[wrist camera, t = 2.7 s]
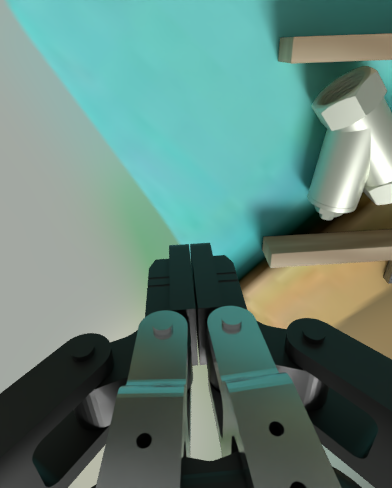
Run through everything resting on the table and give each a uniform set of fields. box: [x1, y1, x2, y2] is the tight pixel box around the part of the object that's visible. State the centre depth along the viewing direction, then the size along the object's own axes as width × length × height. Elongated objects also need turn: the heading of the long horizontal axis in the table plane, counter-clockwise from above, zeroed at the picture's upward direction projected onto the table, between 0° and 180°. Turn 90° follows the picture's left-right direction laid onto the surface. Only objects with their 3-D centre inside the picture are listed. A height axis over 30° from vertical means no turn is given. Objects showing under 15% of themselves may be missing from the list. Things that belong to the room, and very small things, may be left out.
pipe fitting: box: [307, 66, 392, 220], centre depth 22 cm, size 8×4×7 cm
